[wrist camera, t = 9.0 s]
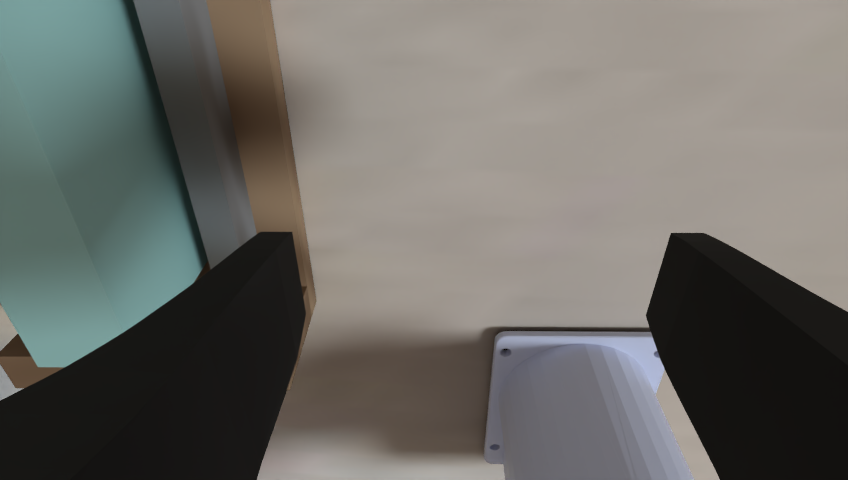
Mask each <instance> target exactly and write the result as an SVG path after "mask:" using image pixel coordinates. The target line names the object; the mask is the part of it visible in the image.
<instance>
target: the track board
mask: <svg viewBox="0 0 848 480" xmlns="http://www.w3.org/2000/svg"><path fill="white" fill-rule="evenodd" d="M133 1H134V4H135V8H136V11H137V15H138V18H139V21H140V25H141V28H142V32H143V35H144V39H145V42H146V46H147V49H148V53H149V56H150V60H151V63H152V67H153V70H154V74H155V77H156V81H157V84H158V88H159V91H160V95H161V98H162V102H163V105H164V109H165V112H166V115H167V119H168V122H169V126H170V129H171V133H172V136H173V140H174V143H175V147H176V150H177V154H178V157H179V161H180V164H181V168H182V171H183V175H184V178H185V182H186V185H187V189H188V192H189V196H190V199H191V203H192V206H193V209H194V213H195V216H196V220H197V223H198V227H199V230H200V234H201V237H202V241H203V244H204V248H205V251H206V255H207V258H208V261H207V263H206V264H205V266H204V267H203V269H202V270H201V272H200V274H199V275H198V277H197V278H196V280H195V281H197V280H198V279H199V278H201V277H202V276H203V275H204V274H206V273H207V272H208V271H210V270H211V269H212V268H214V267H215V266H216V265H217V264H219V263H220V262H221V261H222V260H224V259H225V258H226V257H228V256H229V255H230V254H231V253H233V252H234V251H235V250H236V249H238V248H239V247H240V246H242V245H243V244H244V243H245V242H247V241H248V240H249V239H251V238H252V237H254V236H255V235H256V234H258V233H259V232H292V234H293V240H294V246H295V251H296V257H297V263H298V269H299V275H300V281H301V286H302V292H303V298H304V304H305V310H306V317H305V323H304V328H303V333H302V339H301V343H300V348H299V353H298V357H297V361H296V364H295V367H294V370H293V373H292V376H291V379H290V382H289V385H288V388H287V390H290V388H291V384H292V381H293V378H294V374H295V371H296V368H297V364H298V361H299V358H300V354H301V351H302V347H303V344H304V341H305V337H306V334H307V331H308V327H309V324H310V321H311V317H312V314H313V310H314V307H315V304H316V296H315V289H314V283H313V276H312V270H311V263H310V257H309V250H308V244H307V237H306V231H305V224H304V218H303V211H302V205H301V198H300V192H299V186H298V179H297V173H296V166H295V160H294V153H293V147H292V140H291V134H290V127H289V121H288V114H287V108H286V101H285V95H284V88H283V82H282V75H281V69H280V63H279V56H278V50H277V43H276V37H275V30H274V24H273V17H272V11H271V4H270V0H133ZM195 281H194V282H195ZM0 364H1V366H2V367H3V369H4V371H5V372H6V374H7V375H8V377H9V378H10V380H11V381H12V383H13V385H14V386H15V388H26V387H28V386H30V385H32V384H34V383H36V382H38V381H40V380H42V379H44V378H46V377H48V376H49V375H51V374H53V373H55V372H57V371H59V370H61V369H63V368H64V367H38V366H37V365H36V363H35V361H34V359H33V358H32V356H31V354H30V353H29V351H28V349H27V348H26V346H25V344H24V343H23V341H22V339H21V337H20V336H19V334H17V335H16V336H15V337H14V338H13V339H12V340H11V341H10V342H9V343H8V344H7V345H6V346H5V347H4V348H3V349H2V350H1V351H0Z"/></svg>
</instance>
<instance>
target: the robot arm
mask: <svg viewBox="0 0 848 480" xmlns="http://www.w3.org/2000/svg"><path fill="white" fill-rule="evenodd" d="M305 317H306V310H305V304H304V298H303V292H302V286H301V281H300V275H299V269H298V263H297V257H296V251H295V246H294V240H293V234H292V232H259V233H258V234H256V235H255V236H254V237H252V238H251V239H249V240H248V241H247V242H245V243H244V244H243V245H242V246H240V247H239V248H238V249H236V250H235V251H234V252H233V253H231V254H230V255H229V256H228V257H226V258H225V259H224V260H222V261H221V262H220V263H219V264H217V265H216V266H215V267H214V268H212V269H211V270H210V271H208V272H207V273H206V274H204V275H203V276H202V277H201V278H199V279H198V280H197V281H195V282H194V283H193V284H191V285H190V286H189V287H188V288H186V289H185V290H184V291H182V292H181V293H179V294H178V295H177V296H175V297H174V298H172V299H171V300H169V301H168V302H167V303H165V304H164V305H162V306H161V307H159V308H158V309H157V310H155V311H154V312H152V313H151V314H150V315H148V316H147V317H145V318H144V319H142V320H141V321H140V322H138V323H137V324H135V325H134V326H132V327H131V328H129V329H128V330H126V331H125V332H123V333H121V334H120V335H118V336H117V337H115V338H113V339H112V340H110V341H109V342H107V343H106V344H104V345H102V346H100V347H99V348H97V349H95V350H94V351H92V352H90V353H89V354H87V355H85V356H83V357H82V358H80V359H78V360H77V361H75V362H73V363H72V364H70V365H68V366H66V367H64V368H63V369H61V370H59V371H57V372H55V373H53V374H51V375H49V376H48V377H46V378H44V379H42V380H40V381H38V382H36V383H34V384H32V385H30V386H28V387H26V388H24V389H22V390H20V391H18V392H17V393H15V394H13V395H11V396H9V397H7V398H5V399H3V400H1V401H0V480H257V476H258V473H259V470H260V466H261V463H262V460H263V457H264V454H265V452H266V449H267V446H268V443H269V440H270V437H271V434H272V431H273V428H274V426H275V423H276V420H277V417H278V414H279V411H280V408H281V405H282V402H283V400H284V397H285V394H286V391H287V388H288V385H289V382H290V379H291V376H292V373H293V370H294V367H295V364H296V361H297V357H298V353H299V348H300V343H301V339H302V333H303V328H304V323H305ZM646 317H647V321H648V324H649V327H650V330H651V332H570V331H504V332H501V333H498V334H497V335H496V337H495V341H494V351H493V362H492V372H491V383H490V393H489V404H488V414H487V425H486V435H485V445H484V459H485V461H486V462H488V463H491V464H503V465H504V473H505V480H694V478H693V476H692V474H691V471H690V469H689V467H688V465H687V463H686V460H685V458H684V456H683V454H682V452H681V450H680V447H679V445H678V443H677V441H676V439H675V437H674V434H673V432H672V430H671V428H670V426H669V424H668V421H667V419H666V417H665V415H664V413H663V410H662V408H661V406H660V404H659V402H658V400H657V397H656V395H655V394H656V392H657V389H658V386H659V383H660V380H661V378H662V375H663V372H664V369H665V371H666V373H667V375H668V377H669V379H670V381H671V383H672V385H673V387H674V389H675V391H676V393H677V395H678V397H679V399H680V401H681V403H682V405H683V407H684V409H685V411H686V413H687V415H688V417H689V418H690V420H691V422H692V424H693V426H694V428H695V430H696V432H697V434H698V436H699V438H700V440H701V442H702V444H703V446H704V448H705V450H706V452H707V454H708V456H709V458H710V460H711V462H712V464H713V466H714V468H715V470H716V472H717V474H718V476H719V479H720V480H848V312H847V311H845V310H843V309H841V308H839V307H838V306H836V305H834V304H832V303H830V302H828V301H827V300H825V299H823V298H821V297H819V296H817V295H816V294H814V293H812V292H810V291H809V290H807V289H805V288H803V287H801V286H800V285H798V284H796V283H794V282H793V281H791V280H789V279H787V278H786V277H784V276H782V275H780V274H779V273H777V272H775V271H774V270H772V269H770V268H768V267H767V266H765V265H763V264H761V263H760V262H758V261H756V260H754V259H753V258H751V257H749V256H747V255H746V254H744V253H742V252H740V251H738V250H737V249H735V248H733V247H731V246H729V245H727V244H725V243H724V242H722V241H720V240H718V239H716V238H714V237H711V236H709V235H707V234H705V233H671V235H670V238H669V242H668V245H667V248H666V251H665V255H664V258H663V261H662V264H661V268H660V271H659V274H658V278H657V281H656V284H655V287H654V291H653V294H652V297H651V301H650V304H649V307H648V310H647V314H646ZM506 348H507V349H508V350H505V351H504V350H502V349H506Z"/></svg>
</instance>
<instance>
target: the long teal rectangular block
mask: <svg viewBox="0 0 848 480" xmlns="http://www.w3.org/2000/svg"><path fill="white" fill-rule="evenodd" d="M207 261H208V258H207V255H206V251H205V248H204V244H203V241H202V237H201V234H200V230H199V227H198V223H197V220H196V216H195V213H194V209H193V206H192V203H191V199H190V196H189V192H188V189H187V185H186V182H185V178H184V175H183V171H182V168H181V164H180V161H179V157H178V154H177V150H176V147H175V143H174V140H173V136H172V133H171V129H170V126H169V122H168V119H167V115H166V112H165V109H164V105H163V102H162V98H161V95H160V91H159V88H158V84H157V81H156V77H155V74H154V70H153V67H152V63H151V60H150V56H149V53H148V49H147V46H146V42H145V39H144V35H143V32H142V28H141V25H140V21H139V18H138V15H137V11H136V8H135V4H134V1H133V0H0V303H1V305H2V307H3V309H4V310H5V312H6V314H7V315H8V317H9V319H10V320H11V322H12V324H13V326H14V327H15V329H16V331H17V332H18V334H19V336H20V337H21V339H22V341H23V343H24V344H25V346H26V348H27V349H28V351H29V353H30V354H31V356H32V358H33V359H34V361H35V363H36V365H37V366H38V367H66V366H68V365H70V364H72V363H73V362H75V361H77V360H78V359H80V358H82V357H83V356H85V355H87V354H89V353H90V352H92V351H94V350H95V349H97V348H99V347H100V346H102V345H104V344H106V343H107V342H109V341H110V340H112V339H113V338H115V337H117V336H118V335H120V334H121V333H123V332H125V331H126V330H128V329H129V328H131V327H132V326H134V325H135V324H137V323H138V322H140V321H141V320H142V319H144V318H145V317H147V316H148V315H150V314H151V313H152V312H154V311H155V310H157V309H158V308H159V307H161V306H162V305H164V304H165V303H167V302H168V301H169V300H171V299H172V298H174V297H175V296H177V295H178V294H179V293H181V292H182V291H184V290H185V289H186V288H188V287H189V286H190V285H191V284H193V283H194V281H195V280H196V278H197V277H198V275H199V274H200V272H201V270H202V269H203V267H204V266H205V264H206V263H207Z"/></svg>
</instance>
